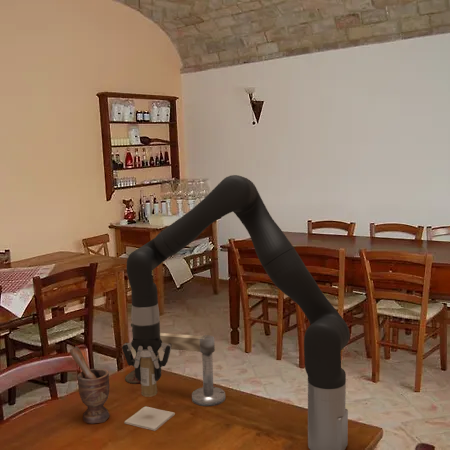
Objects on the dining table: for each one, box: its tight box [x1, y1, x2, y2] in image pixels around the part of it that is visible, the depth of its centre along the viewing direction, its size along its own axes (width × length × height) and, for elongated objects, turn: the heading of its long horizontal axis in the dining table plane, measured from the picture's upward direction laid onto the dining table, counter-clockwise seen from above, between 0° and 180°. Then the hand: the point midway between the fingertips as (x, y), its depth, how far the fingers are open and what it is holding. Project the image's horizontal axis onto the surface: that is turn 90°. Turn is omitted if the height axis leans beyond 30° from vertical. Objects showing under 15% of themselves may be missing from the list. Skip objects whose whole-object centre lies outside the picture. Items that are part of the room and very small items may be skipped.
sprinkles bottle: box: [139, 349, 158, 398], centre depth 159 cm, size 5×5×13 cm
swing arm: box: [160, 332, 216, 354], centre depth 173 cm, size 24×4×4 cm, turn 74°
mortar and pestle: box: [69, 346, 110, 424], centre depth 161 cm, size 12×9×20 cm
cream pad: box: [124, 405, 176, 432], centre depth 161 cm, size 10×10×1 cm
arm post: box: [191, 353, 226, 407], centre depth 172 cm, size 10×10×14 cm
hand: (148, 379), depth 159 cm, fingers closed on sprinkles bottle, 4 cm apart
